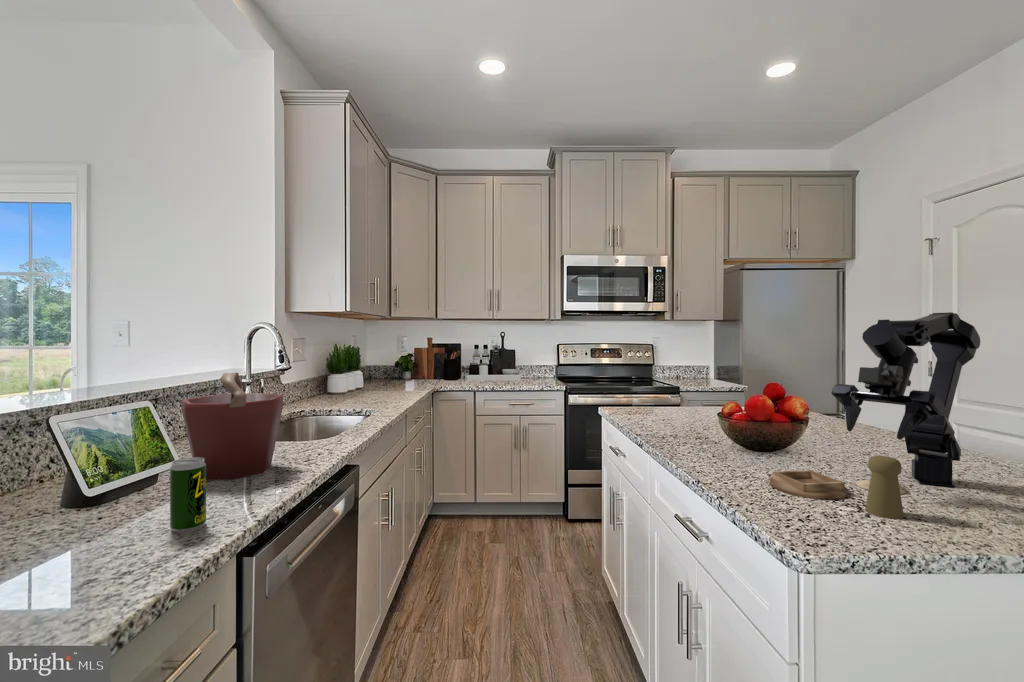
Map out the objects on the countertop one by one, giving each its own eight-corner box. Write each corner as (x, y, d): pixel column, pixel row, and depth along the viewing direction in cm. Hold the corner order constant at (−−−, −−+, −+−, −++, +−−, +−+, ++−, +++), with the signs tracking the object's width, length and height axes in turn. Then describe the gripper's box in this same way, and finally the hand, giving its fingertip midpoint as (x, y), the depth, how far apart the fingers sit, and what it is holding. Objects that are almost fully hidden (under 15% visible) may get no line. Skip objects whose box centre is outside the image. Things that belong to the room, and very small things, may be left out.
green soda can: (164, 535, 83) (164, 465, 83) (178, 523, 88) (178, 457, 88) (199, 532, 84) (199, 463, 84) (211, 520, 90) (210, 456, 90)
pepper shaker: (911, 520, 91) (911, 461, 91) (875, 517, 92) (875, 460, 92) (892, 508, 97) (893, 454, 96) (858, 506, 98) (859, 452, 98)
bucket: (265, 482, 113) (265, 376, 113) (158, 489, 108) (157, 377, 108) (288, 457, 137) (288, 369, 136) (201, 461, 132) (201, 370, 131)
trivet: (811, 477, 118) (811, 466, 118) (865, 497, 103) (865, 485, 103) (755, 479, 116) (755, 469, 116) (801, 501, 101) (801, 488, 101)
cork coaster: (900, 485, 112) (900, 483, 112) (911, 496, 104) (911, 494, 104) (853, 480, 116) (853, 477, 116) (860, 490, 108) (860, 488, 108)
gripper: (831, 349, 110) (808, 409, 106) (933, 352, 93) (910, 423, 89) (853, 374, 114) (832, 433, 110) (954, 381, 98) (933, 450, 94)
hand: (872, 434), depth 101 cm, fingers open, 9 cm apart
